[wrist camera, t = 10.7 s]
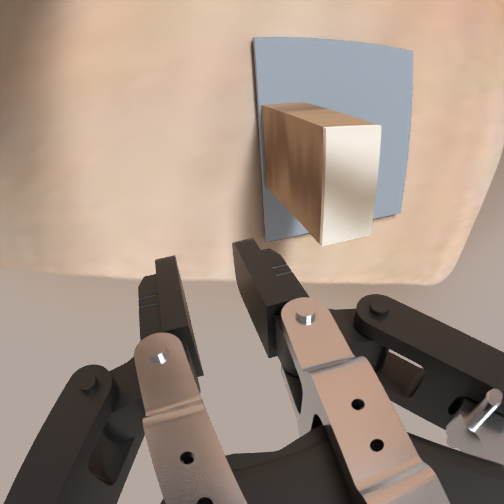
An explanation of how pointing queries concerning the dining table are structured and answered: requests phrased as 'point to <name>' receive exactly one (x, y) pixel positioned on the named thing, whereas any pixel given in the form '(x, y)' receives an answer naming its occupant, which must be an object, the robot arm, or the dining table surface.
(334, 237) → the slab
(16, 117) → the dining table surface
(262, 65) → the mat
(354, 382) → the robot arm
